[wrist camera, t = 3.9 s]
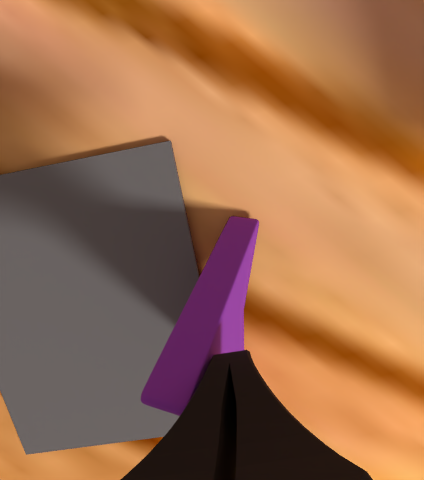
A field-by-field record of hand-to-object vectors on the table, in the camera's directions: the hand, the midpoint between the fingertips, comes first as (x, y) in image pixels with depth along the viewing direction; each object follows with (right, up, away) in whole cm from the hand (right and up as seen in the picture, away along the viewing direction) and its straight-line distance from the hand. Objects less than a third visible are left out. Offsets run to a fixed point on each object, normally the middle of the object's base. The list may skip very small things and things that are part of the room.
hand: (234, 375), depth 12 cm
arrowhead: (+1, +2, +7) cm, 8 cm away
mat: (-8, 0, +8) cm, 11 cm away
